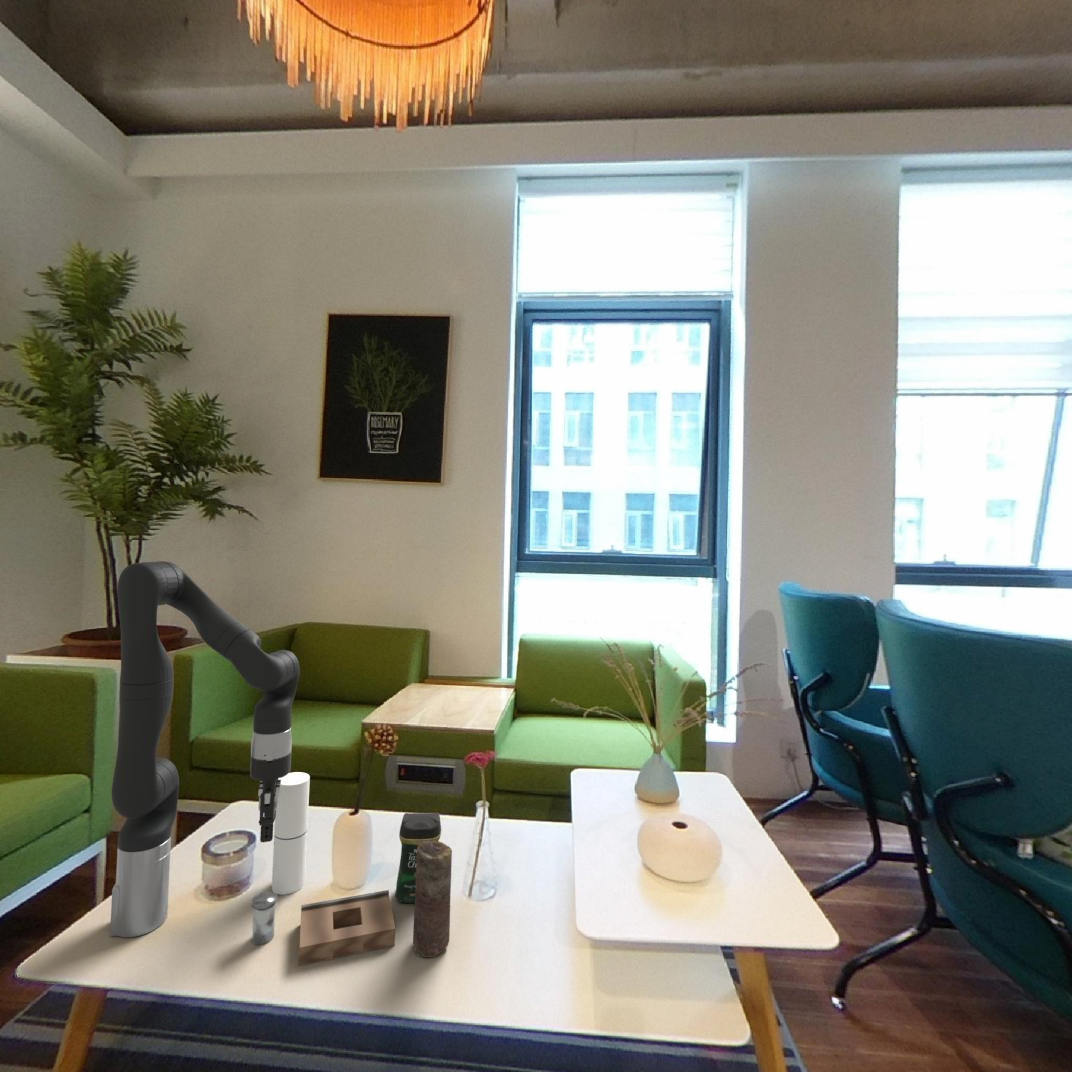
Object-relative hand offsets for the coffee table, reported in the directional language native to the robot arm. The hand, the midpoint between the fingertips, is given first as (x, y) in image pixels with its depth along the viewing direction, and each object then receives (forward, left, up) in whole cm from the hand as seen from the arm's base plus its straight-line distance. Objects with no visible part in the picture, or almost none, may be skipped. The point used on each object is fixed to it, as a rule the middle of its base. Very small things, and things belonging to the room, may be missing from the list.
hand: (268, 830), depth 116 cm
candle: (+32, -12, -22) cm, 41 cm away
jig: (+16, -4, -22) cm, 28 cm away
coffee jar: (+32, +5, -22) cm, 39 cm away
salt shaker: (0, 0, -22) cm, 22 cm away
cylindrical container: (+4, +17, -22) cm, 28 cm away
